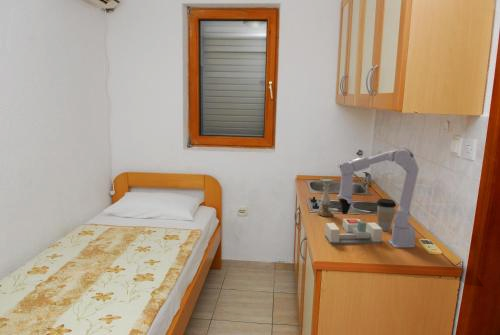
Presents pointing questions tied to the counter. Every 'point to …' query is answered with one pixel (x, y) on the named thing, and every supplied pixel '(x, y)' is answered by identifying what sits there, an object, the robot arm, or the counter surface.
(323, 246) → the counter surface
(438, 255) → the counter surface
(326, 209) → the candle holder
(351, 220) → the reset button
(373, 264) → the counter surface
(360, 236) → the carriage
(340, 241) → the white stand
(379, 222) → the coffee cup
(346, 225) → the box
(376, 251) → the counter surface
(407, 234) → the robot arm
